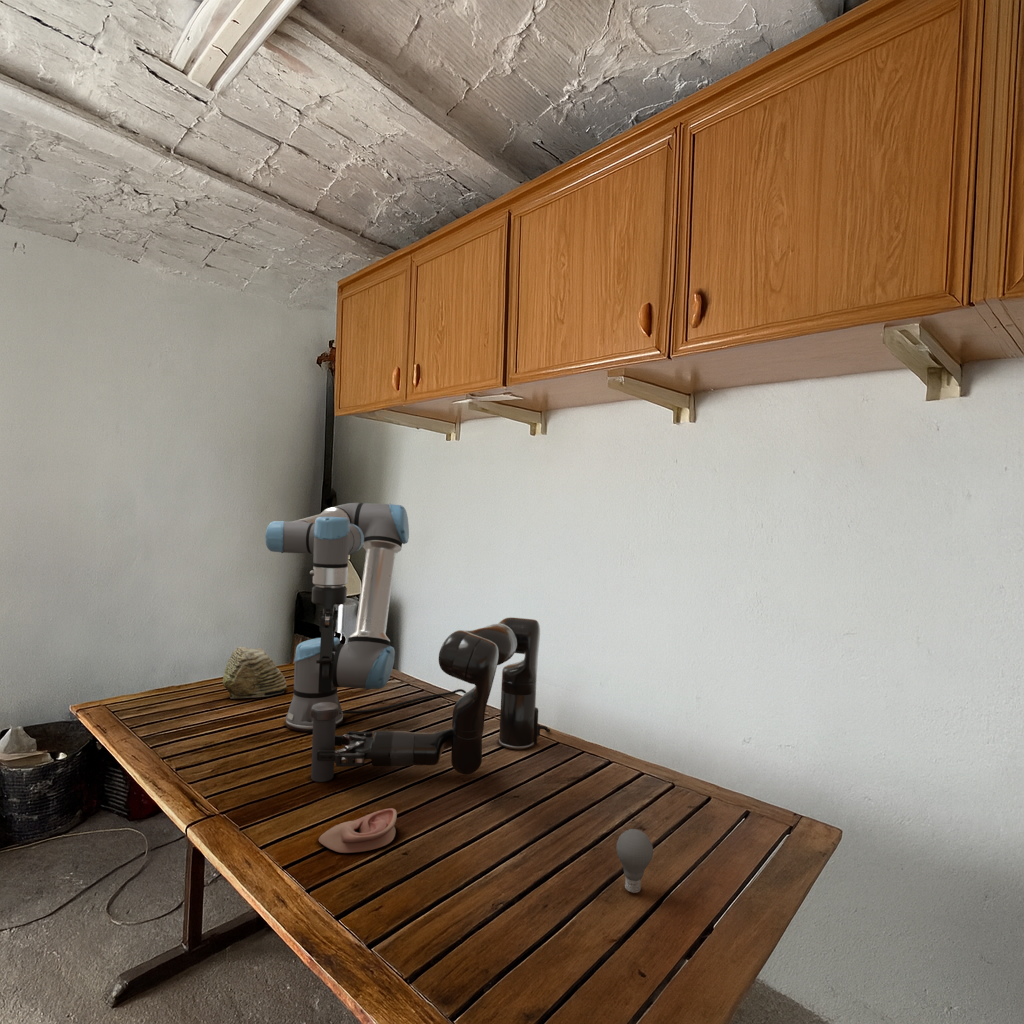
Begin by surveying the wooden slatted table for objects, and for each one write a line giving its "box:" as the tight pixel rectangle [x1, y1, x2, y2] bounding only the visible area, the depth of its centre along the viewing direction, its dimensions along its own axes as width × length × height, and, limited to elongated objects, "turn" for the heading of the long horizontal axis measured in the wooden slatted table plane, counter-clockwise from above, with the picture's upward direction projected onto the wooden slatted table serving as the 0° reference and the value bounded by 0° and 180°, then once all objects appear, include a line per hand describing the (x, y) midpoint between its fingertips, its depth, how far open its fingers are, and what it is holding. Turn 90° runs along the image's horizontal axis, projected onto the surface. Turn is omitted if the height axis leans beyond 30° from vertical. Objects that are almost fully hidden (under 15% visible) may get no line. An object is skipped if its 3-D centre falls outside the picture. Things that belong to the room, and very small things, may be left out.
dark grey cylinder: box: [310, 718, 336, 783], centre depth 143 cm, size 5×5×16 cm
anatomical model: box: [318, 807, 398, 854], centre depth 118 cm, size 13×4×12 cm
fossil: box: [222, 646, 288, 699], centre depth 198 cm, size 9×18×15 cm, turn 132°
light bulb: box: [615, 828, 654, 894], centre depth 106 cm, size 6×6×10 cm
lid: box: [311, 702, 339, 720], centre depth 143 cm, size 6×6×2 cm
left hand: (325, 686), depth 143 cm, fingers open, 8 cm apart
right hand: (321, 747), depth 143 cm, fingers open, 8 cm apart
